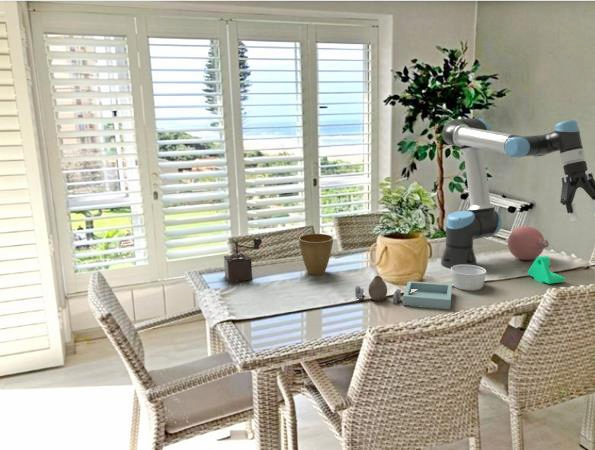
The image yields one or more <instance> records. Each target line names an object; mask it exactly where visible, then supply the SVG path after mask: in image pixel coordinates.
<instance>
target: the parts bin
mask: <svg viewBox="0 0 595 450" xmlns="http://www.w3.org/2000/svg"><path fill="white" fill-rule="evenodd" d="M411 289H418V291H416V292H412V293H410V292H411ZM452 294H453V283H452V284H451V283H440V282H439V283H438V282H425V281H424V282H422V281H410V280H409V281H407V284H406V286H405V289H404V292H403V295H402V306H404V305H412V306H411V307H416V306H422V307H421V308H427V307H431V308H430V309H441V310H451V303H452Z"/></svg>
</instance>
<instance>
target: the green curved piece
mask: <svg viewBox="0 0 595 450" xmlns="http://www.w3.org/2000/svg"><path fill="white" fill-rule="evenodd" d="M550 265H551V260H550V257H549V256H547V255H544V256H543V255H541V256H538V257H536V258H534V261H533V262H532V264H531V266H530V267H529V269H528V271H527V275H529V276H531V277H532V278H533V280H535V281H537V282H539V283H541V284H544V283H546V284H557V283H564V282H565V277H564V276H562V275H561V274H557V273H555V272H553V271H550V268H549V267H550Z"/></svg>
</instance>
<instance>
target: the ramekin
mask: <svg viewBox="0 0 595 450" xmlns="http://www.w3.org/2000/svg"><path fill="white" fill-rule="evenodd" d="M450 273H451V283H452V286H454V287H455V288H456V289H460V290H462V291H478V290H481V289H482V288H483V286H484V285H485V280H486V279H485V278H486V275H487V270H486V269H485V268H484V267H481V266H478V265H476V266H475V265H456V266H453V267H451V268H450Z"/></svg>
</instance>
